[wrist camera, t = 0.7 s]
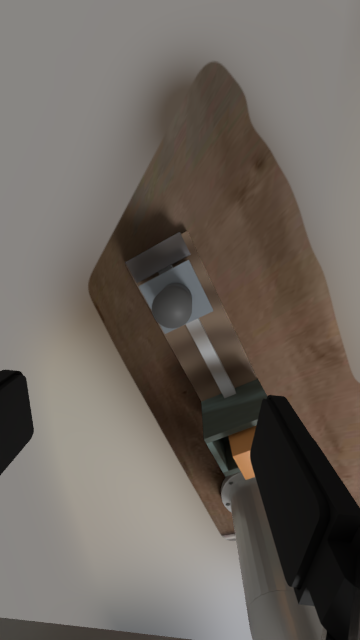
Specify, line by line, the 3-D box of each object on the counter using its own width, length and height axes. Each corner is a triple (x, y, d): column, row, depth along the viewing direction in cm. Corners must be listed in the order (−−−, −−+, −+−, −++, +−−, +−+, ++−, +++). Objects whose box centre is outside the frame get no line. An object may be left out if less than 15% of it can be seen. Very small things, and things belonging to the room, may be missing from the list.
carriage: (210, 304, 31) (219, 324, 22) (168, 325, 33) (157, 352, 23) (188, 259, 30) (187, 259, 20) (145, 283, 31) (123, 293, 21)
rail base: (270, 406, 38) (295, 453, 29) (215, 427, 40) (223, 477, 31) (187, 232, 31) (185, 220, 22) (126, 266, 33) (100, 268, 24)
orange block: (265, 443, 30) (276, 469, 27) (239, 452, 31) (245, 480, 27) (254, 421, 30) (264, 445, 26) (227, 431, 30) (232, 456, 26)
